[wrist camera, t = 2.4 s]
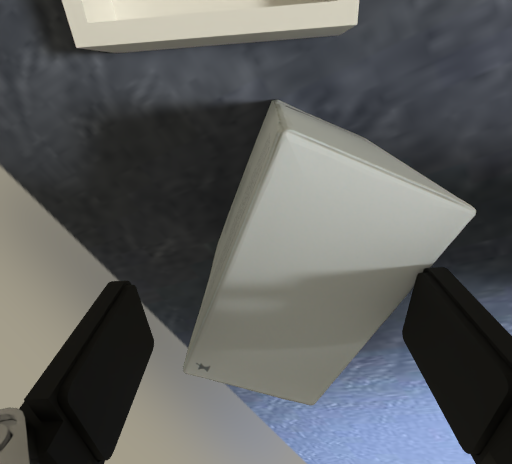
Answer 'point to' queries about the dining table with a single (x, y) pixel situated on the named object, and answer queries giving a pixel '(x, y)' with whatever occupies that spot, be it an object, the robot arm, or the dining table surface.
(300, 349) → the skincare box
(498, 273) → the dining table surface
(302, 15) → the trough
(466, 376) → the robot arm
